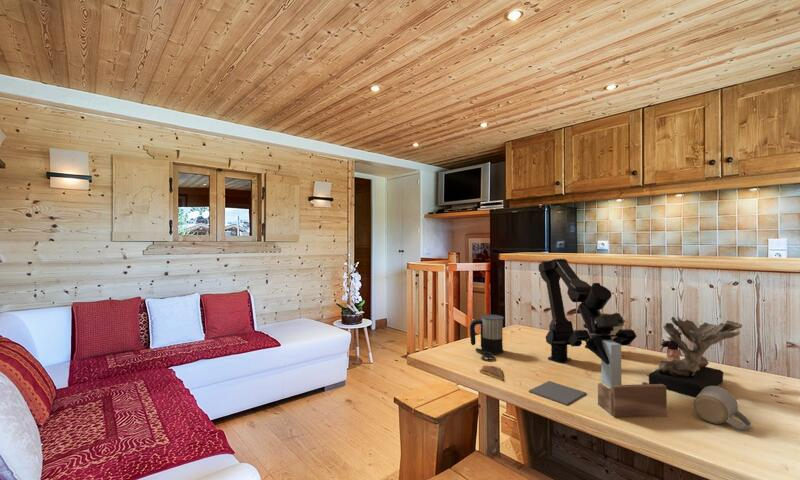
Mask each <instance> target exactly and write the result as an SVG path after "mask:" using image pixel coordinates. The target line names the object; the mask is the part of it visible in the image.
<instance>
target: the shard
mask: <svg viewBox="0 0 800 480" xmlns="http://www.w3.org/2000/svg"><path fill="white" fill-rule="evenodd" d="M479 373H480V374H483V375H486V376H489V377H490V378H493V379H496V380H498V381H503V378H504V377H503V372H502V368H501V367H499V366H494V365H481V369H479Z"/></svg>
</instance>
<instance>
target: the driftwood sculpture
mask: <svg viewBox="0 0 800 480" xmlns="http://www.w3.org/2000/svg"><path fill="white" fill-rule="evenodd" d="M670 320H671V322H666V323H665V324H664V325H663V326H662V328H663V329H664V330H665V332H666V334H669V335H670V336H671V338H672V339H673V340H674V341H675V342H676V343H677V344H678V345H679V346H680V348H682V350H683V352H684V353H683V352H682V353H683V356H684V358H682V359H680V360H673V361H667V360H662V359H661V360H660V361H659V362H658V368H657V369H655V370H653V371H652V372H650V373H648V384H663V385H665V386H667V391H670V392H674V393H677V394H681V395H683V396H687V397H690V398H694V399H695V398H696V397H697V395H698V394H699V393H700V392H701V391H702V389H703V388H705V387H707V386H718V385H719V384H720V385H721V384H723V382H724V371H723V370H721V369H719V368H718V369H717V368H712V367H708V365H709V361H708V359H707V358H706V357H704V353H705V352H706V351H707V350H708V349H709V348H710V347H712V345H715V344H718V343H719V342H722V341H723V340H727V339H732V338H735V337H736V336H739V335H740V334H741V332H740V331H736V330H739V329H741V328H743V324H742V323H738V322H736V321H731V320H726V321H725V323H723V322H721V323H719V324H718V325H716V324H711V323H709V322H705V321H704V322H703V323H702V324H699V326H697V325H696V324H695V322H694V321H691V320H689V319H685V320H681V319H680V318H679V317H678V316H677V317H676V318H675V317H674V316H672V317H670ZM674 325H675V326H676V327H675V326H674ZM678 328H679V330H680V331H679V330H678ZM735 331H736V332H735ZM682 335H683V336H685V338H686V339H687V340H688V341H689V342H690V344H691V346H692V348H691V349H690V348H689V346H688V344H686V342H685V341H683V340H682V337H681V336H682ZM680 348H679V349H680ZM682 350H681V351H682ZM720 385H719V386H720ZM719 386H718V387H719Z"/></svg>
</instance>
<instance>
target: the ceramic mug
mask: <svg viewBox="0 0 800 480" xmlns="http://www.w3.org/2000/svg"><path fill="white" fill-rule="evenodd" d="M693 400H694V401H693V409H694V410H695V413H696V414H697V415H698V417H700V418H701V419H702V420H703V421H706V422H709V423H711V424H717V425H718V424H719V425H720V424H723V423H727V424H729V425H730V426H732V427H734V428H736V429H738V430H741V431H747V430H749V429H750V428H751V426H752V422H751V421H750V419H749V418H748V417H747V416H745V415H744V414H743V413H742V412H740V411H738V408H739V407H738V406H739V404H738V402H737V399H736V398H735V397H734V395H733V394H732V393H731V392H729V390H727V389H725V388H723V387H720V386H707V387H705V388H703V389H702V391H701V392H700V393H699V394H698V395H697V397H696V398H694V399H693ZM733 416H735V417H736V418H738V420H740V421H741V422H743V424H742V423H740V422H738V421H736V420H735V419H733V418H732V417H733Z"/></svg>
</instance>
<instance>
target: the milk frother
mask: <svg viewBox="0 0 800 480" xmlns="http://www.w3.org/2000/svg"><path fill="white" fill-rule="evenodd" d="M503 320H504V316H502V315H500V314H499V315H498V314H483V315H481V316H480V318H475V319H473V320H472V321H471V322H470V324H469V335H470V336H469V337H470V344H471V346H475V345H476V344H477V343H476V329H475V328H476V325H480V348H481V349H480V348H478V347H477V348H475V352H477V353H478V354H480V355H482V356H483V357H484V358H487V359H488V360H489V359H495V355H501V354H503V353H504V349H503V348H504V347H503V323H504V322H503Z"/></svg>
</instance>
